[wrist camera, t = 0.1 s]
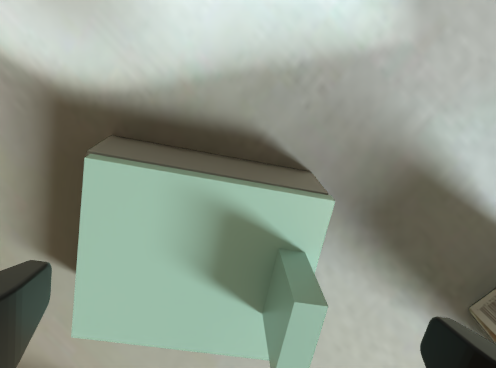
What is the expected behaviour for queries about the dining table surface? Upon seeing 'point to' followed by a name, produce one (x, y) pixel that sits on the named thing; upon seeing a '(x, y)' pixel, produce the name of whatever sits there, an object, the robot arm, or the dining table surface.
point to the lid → (199, 262)
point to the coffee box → (486, 313)
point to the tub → (207, 163)
